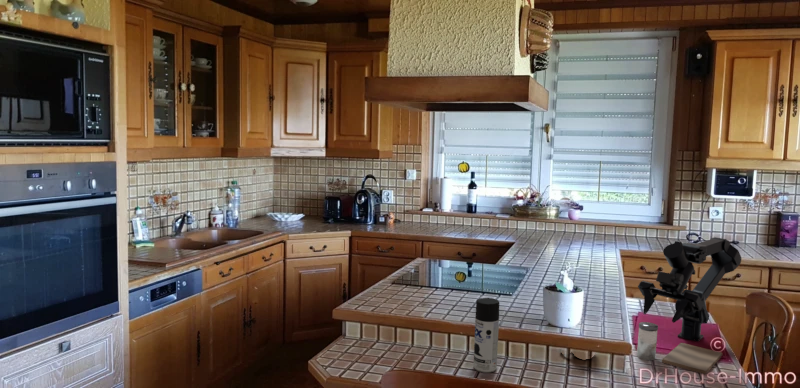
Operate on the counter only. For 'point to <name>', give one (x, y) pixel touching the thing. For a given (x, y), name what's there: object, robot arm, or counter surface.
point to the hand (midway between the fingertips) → (658, 317)
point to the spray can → (486, 335)
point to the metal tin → (647, 340)
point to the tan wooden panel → (692, 358)
